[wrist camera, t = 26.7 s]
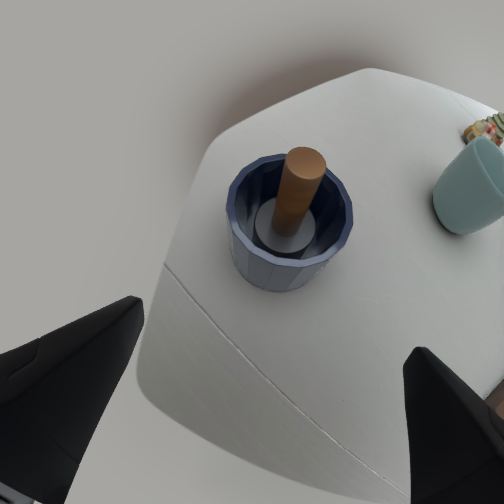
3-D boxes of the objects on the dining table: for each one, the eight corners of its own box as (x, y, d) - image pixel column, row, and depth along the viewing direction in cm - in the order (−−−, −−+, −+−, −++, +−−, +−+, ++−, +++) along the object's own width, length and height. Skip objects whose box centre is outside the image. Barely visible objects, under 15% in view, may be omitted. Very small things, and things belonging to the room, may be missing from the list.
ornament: (481, 167, 29) (516, 131, 19) (457, 137, 30) (488, 97, 21) (492, 155, 30) (523, 123, 21) (471, 128, 32) (498, 94, 22)
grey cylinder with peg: (314, 252, 23) (366, 179, 12) (270, 279, 22) (296, 218, 11) (285, 211, 24) (312, 120, 13) (242, 235, 23) (242, 147, 12)
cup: (437, 247, 24) (500, 206, 14) (414, 184, 26) (461, 129, 17) (476, 239, 24) (530, 204, 15) (454, 184, 27) (498, 140, 17)
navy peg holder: (298, 308, 22) (324, 291, 14) (214, 263, 23) (201, 226, 15) (334, 231, 24) (367, 188, 17) (258, 192, 25) (264, 138, 18)
